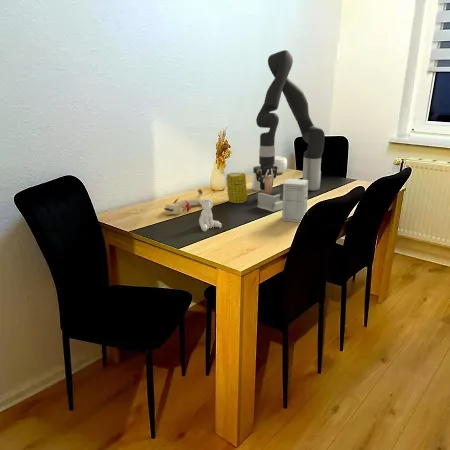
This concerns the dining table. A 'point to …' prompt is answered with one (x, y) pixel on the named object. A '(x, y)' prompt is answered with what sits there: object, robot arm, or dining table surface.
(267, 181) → the jar small
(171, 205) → the cat figure
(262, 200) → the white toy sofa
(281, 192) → the pusher
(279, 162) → the cup
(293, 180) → the supplement box
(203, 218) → the seated beast figurine
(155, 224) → the dining table surface
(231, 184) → the yellow woven basket
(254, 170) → the jar
